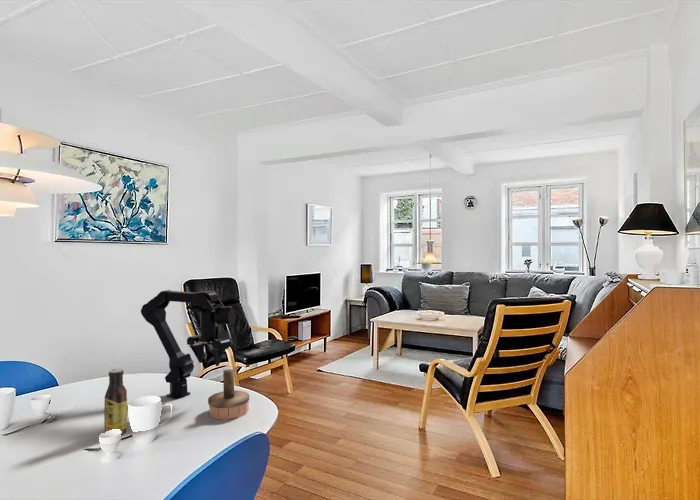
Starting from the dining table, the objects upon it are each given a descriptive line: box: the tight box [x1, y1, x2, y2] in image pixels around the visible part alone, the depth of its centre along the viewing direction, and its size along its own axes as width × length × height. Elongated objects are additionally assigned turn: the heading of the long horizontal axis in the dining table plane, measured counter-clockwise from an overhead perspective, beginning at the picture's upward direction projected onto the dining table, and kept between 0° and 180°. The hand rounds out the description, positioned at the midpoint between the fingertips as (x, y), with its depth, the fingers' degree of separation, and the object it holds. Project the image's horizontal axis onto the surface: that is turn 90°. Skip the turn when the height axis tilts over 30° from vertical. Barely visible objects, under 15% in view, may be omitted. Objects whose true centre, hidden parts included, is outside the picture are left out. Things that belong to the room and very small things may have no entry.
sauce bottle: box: [103, 368, 128, 435], centre depth 134 cm, size 7×6×20 cm
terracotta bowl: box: [208, 400, 250, 420], centre depth 150 cm, size 13×13×4 cm
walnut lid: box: [207, 368, 250, 408], centre depth 150 cm, size 14×14×10 cm
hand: (209, 364), depth 164 cm, fingers open, 9 cm apart
